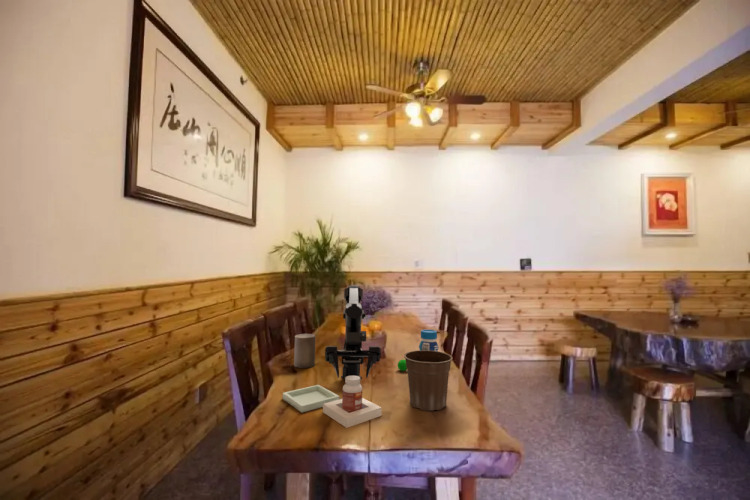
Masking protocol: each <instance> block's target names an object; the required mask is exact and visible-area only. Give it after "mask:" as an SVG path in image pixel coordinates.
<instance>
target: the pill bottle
mask: <svg viewBox="0 0 750 500" xmlns="http://www.w3.org/2000/svg"><path fill="white" fill-rule="evenodd" d="M344 381H345V383H344V385H343V387H342V398H341V399H342V409H343V410H345V411H347V412H348V413H351V412H354V411H357V410H360V409H362V398H363V386H362V385H361V379H360V377H359V376H347V377H346V378H345V379H344Z"/></svg>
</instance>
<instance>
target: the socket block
mask: <svg viewBox="0 0 750 500" xmlns="http://www.w3.org/2000/svg"><path fill="white" fill-rule="evenodd" d="M322 413H323V414H324V415H327V416H328V417H329V418H331V419H333V420H334V421H335V422H337V423H338V424H340V425H342V426H343V427H345V428H346V429H347V428H350V427H353V426H356V425H358V424H361V423H364V422H367V421H370V420H373V419H376V418H379V417H381V416H382V407H381V406H380V405H378V404H376V403H374V402H371V401H370V400H367V399H366V398H364V397H362V409H360V410H357V411H354V412H351V413H348V412H347V411H345V410H343V409H342V398H339V400H336V401H332V402H328V403H325V404H323V407H322Z"/></svg>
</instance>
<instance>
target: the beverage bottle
mask: <svg viewBox="0 0 750 500" xmlns="http://www.w3.org/2000/svg"><path fill="white" fill-rule="evenodd" d="M437 332H438V331H437V330H434V329H421V331H420V339H422V340H421V341H420V343H419V345H418V348H419V350H430V351H439V345H438V342H437V339H438V333H437Z"/></svg>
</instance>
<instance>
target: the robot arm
mask: <svg viewBox="0 0 750 500" xmlns="http://www.w3.org/2000/svg"><path fill="white" fill-rule="evenodd" d="M343 291H344V292H343V295H344V296H343V300H345V309H343V311H342V312H343V314H342V318H343V320H344V322H345V335H344V344H343V348H341V349H338V346H337V345H326V347H324V348H325V349H324V356H325V357H324V359H325V362H327V363H329V364H330V365H331V364H332V367H333V369H334V371H335V374H336V376H337V378H338V379H339V378H342V379H343V380H345V378H346V377H347V376H359V377H360V380H362V379H363V377H362V376H361V375H360V374H361V365H362V364H364V360H365V359H364V358H365V357H367V361H366V362H367V363H366V364H367V365H366V373H365V378H367V379H368V377H369V374H370V371H371V370H372V367H373V365H375V364H377V363H379V362H380V361H381V356H382V355H381V354H382V351H381V350H382V349H381V346H379V345H375V346H374V345H373V346H372V345H370V346H368V350H364V349H362V346H363V343H362V342H366V341H367V331H366V330H362V321H363V320H364V319H365V318H366V312H365V310H364V309H363V305H362V300H363V297H364V294H363V293H364V289H363V288H361V287H360V286H359V285H348V286H347V287H346V288H344V289H343ZM339 357H341V365H343V366H342V375H341V376H340V367H339Z"/></svg>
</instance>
